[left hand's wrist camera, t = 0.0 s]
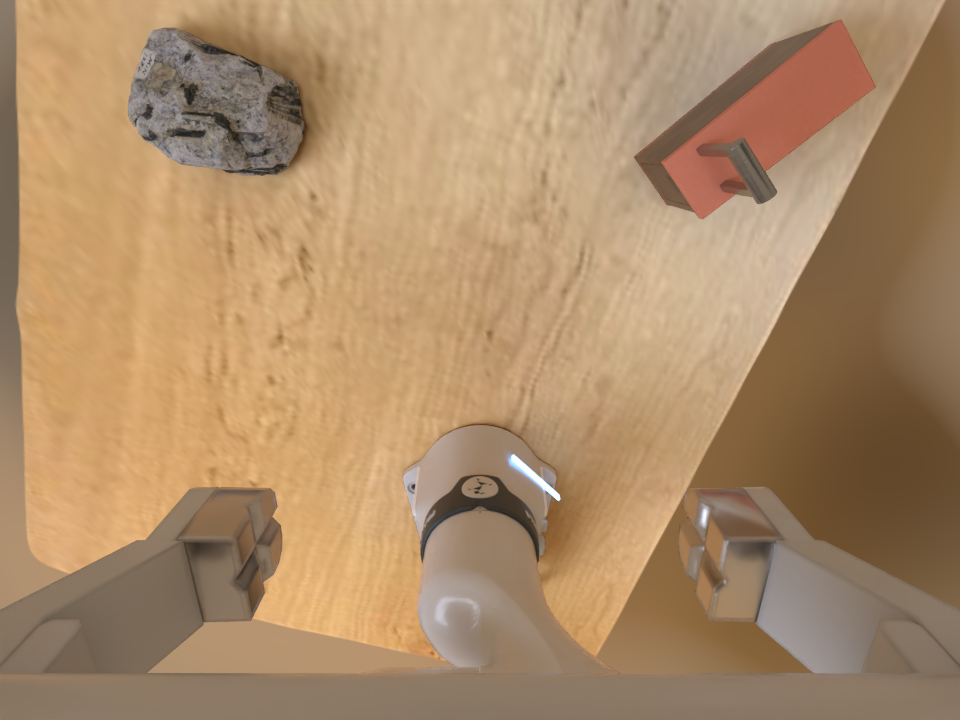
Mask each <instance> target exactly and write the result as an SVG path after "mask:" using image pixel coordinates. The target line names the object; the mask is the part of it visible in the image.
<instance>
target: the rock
mask: <svg viewBox="0 0 960 720" xmlns="http://www.w3.org/2000/svg"><path fill="white" fill-rule="evenodd" d="M128 116H129V119H130V121H131V122H132V124H133V125H134V127H136V128H137V130H138V132H139V134H140V135H141V136H142V138H143V139H144V140H145V141H147V142H149V143H151V144H152V145H154V146H155V147H157V148H158V149H159V150H161V151H162V152H163V153H164V154H165V155H166V156H167V157H169V158H171V159H172V160H174V161H176V162H178V163H180V164H182V165H189V166H196V167H208V168H211V169H222V170H224V171H225V172H228V173H237V174H240V175H262V176H263V175H265V174H271V175H277V174H278V173H280V172H282V171H284V170H285V169H286V168H287V167H288V166H289V165H290V163H291V161H292V159H293V158H294V156H295V154H296V153H297V151H298V147H299V144H300V143H301V141H302V140H303V136H304V130H305V124H304V121H303V119H302V113H301V102H300V100H299V89H298V85H297V84H296V83H295V82H293V81H292V80H289V79H287V78H285V77H283V76H282V75H281V74H279V73H277V72H275V71H273V70H271V69H270V68H267V67H265V66H263V65H262V66H260V65H259V64H257V63H255V62H252V61H250V60H248V59H246V58H244V57H242V56H241V55H239V56H238V55H236V54H233V53H230V52H228V51H225V50H223V49H221V48H219V47H216V46H214V45H212V44H209V43H205V42H203V41H201V40H200V39H198V38H195V37H194V36H192V35H191V34H189V33H186V32H183V31H181V30H179V29H176V28H162V29H157V30H153V31H152V32H151V34H150V36H149V38H148V42H147V44H146V46H145V48H144V49H143V51H142V53H141V61H140V63H139V65H138V67H137V69H136V73H135V76H134V79H133V82H132V85H131V95H130V97H129V102H128Z"/></svg>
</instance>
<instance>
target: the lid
mask: <svg viewBox="0 0 960 720" xmlns="http://www.w3.org/2000/svg"><path fill="white" fill-rule="evenodd" d="M875 87H876V86H875V85H874V83H873V81H872V79H871V77H870V75H869V73H868V71H867V69H866V67H865V65H864V63H863V61H862V59H861V57H860V55H859V53H858V51H857V49H856V47H855V46H854V44H853V42H852V40H851V38H850V36H849V34H848V32H847V30H846V28H845V26H844V24H843V22H842V20H838V21H835V22H833V23H832V24H831V25H829V26H828V27H827V28H826V29H825V30H823V31H822V32H821V33H820V34H818V35H817V36H816V37H815V38H813V39H812V40H811V41H810V42H809V43H807V44H806V45H805V46H804V47H802V48H801V49H800V50H799V51H797V52H796V53H795V54H794V55H792V56H791V57H790V58H789V59H788V60H786V61H785V62H784V63H783V64H781V65H780V66H779V67H778V68H776V69H775V70H774V71H773V72H771V73H770V74H769V75H768V76H767V77H765V78H764V79H763V80H762V81H760V82H759V83H758V84H757V85H755V86H754V87H753V88H752V89H751V90H749V91H748V92H747V93H746V94H744V95H743V96H742V97H741V98H739V99H738V100H737V101H736V102H734V103H733V104H732V105H731V106H730V107H728V108H727V109H726V110H725V111H723V112H722V113H721V114H720V115H718V116H717V117H716V118H715V119H713V120H712V121H711V122H710V123H709V124H707V125H706V126H705V127H704V128H702V129H701V130H700V131H699V132H697V133H696V134H695V135H694V136H692V137H691V138H690V139H689V140H688V141H686V142H685V143H684V144H683V145H681V146H680V147H679V148H678V149H676V150H675V151H674V152H673V153H672V154H670V155H669V156H668V157H667V158H665V159H664V160H663V161H662V162H661V163H662V164H663V166H664V167H665V169H666V170H667V172H668V173H669V175H670V176H671V178H672V179H673V181H674V182H675V183H676V185H677V186H678V188H679V189H680V191H681V192H682V194H683V195H684V197H685V198H686V200H687V201H688V203H689V204H690V206H691V207H692V209H693V210H694V212H695V213H696V215H697V216H698V218H700V219H704V218H705V217H706V216H708V215H709V214H710V213H712V212H713V211H714V210H716V209H717V208H718V207H719V206H721V205H722V204H723V203H725V202H726V201H727V200H729V199H730V198H731V197H733V196H734V195H735V194H737V195H743V196H749V197H753V198H754V200H755V201H756V203H757V204H762V203H764V202H766V201H768V200H770V199H771V198H773V197H774V196H775V195H776V193H777V190H776V189H775V187H774V185H773V184H772V182H771V180H770V179H769V177H768V175H767V174H766V172H765V171H767V170H768V169H769V168H770V167H772V166H773V165H774V164H776V163H777V162H778V161H780V160H781V159H782V158H784V157H785V156H786V155H787V154H789V153H790V152H791V151H793V150H794V149H795V148H797V147H798V146H799V145H801V144H802V143H803V142H804V141H806V140H807V139H808V138H810V137H811V136H812V135H814V134H815V133H816V132H818V131H819V130H820V129H821V128H823V127H824V126H825V125H827V124H828V123H829V122H831V121H832V120H833V119H835V118H836V117H837V116H839V115H840V114H841V113H842V112H844V111H845V110H846V109H848V108H849V107H850V106H852V105H853V104H854V103H856V102H857V101H858V100H859V99H861V98H862V97H863V96H865V95H866V94H867V93H869V92H870V91H871V90H873V89H874V88H875Z"/></svg>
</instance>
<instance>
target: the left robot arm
mask: <svg viewBox="0 0 960 720" xmlns="http://www.w3.org/2000/svg"><path fill="white" fill-rule="evenodd" d="M403 482H404V485H405V489H406V492H407V496H408V499H409V503H410V506H411V509H412V513H413V516H414V520H415V523H416V526H417V530H418V533H419V537H420V540H421V541H420V544H421V559H422V563H423V566H422V573H421V581H420V588H419V595H418V603H417V611H418V618H419V622H420V625H421V628H422V630H423V632H424V634H425V635H426V637H427V639H428V640H429V642H430V643H431V645H432V646H433V647H434V649H435V650H436V651H437V652H438V654H439V655H440V656H441V657H442V658H444V659H445V660H446V661H448V662H449V663H451V664H452V665H454V666H456V667H388V668H383V669H378V670H373V671H368V672H363V673H147V672H148V671H150V670H151V669H152V668H153V667H154V666H155V665H157V664H158V663H159V662H160V661H161V660H162V659H164V658H165V657H166V656H167V655H168V654H170V653H171V652H172V651H173V650H174V649H176V648H177V647H178V646H179V645H180V644H181V643H183V642H184V641H185V640H186V639H187V638H189V637H190V636H191V635H192V634H193V633H194V632H196V631H197V630H198V629H199V628H200V627H202V626H203V622H229V621H251V620H252V618H253V616H254V614H255V612H256V610H257V608H258V606H259V603H260V601H261V599H262V597H263V595H264V593H265V590H264V584H263V582H264V581H265V580H267V579H268V578H270V577H271V576H272V575H274V573H275V570H276V568H277V566H278V564H279V560H280V556H281V551H282V531H281V525H280V524H279V523H278V522H277V521H276V520H275V519H274V518H273V517H272V516H273V514H274V512H275V510H276V509H277V507H278V506H277V501H276V496H275V492H274V491H273V490H272V489H271V488H237V487H221V488H219V487H195V488H192V489H189V490H188V492H187V493H186V494H185V495H184V496H183V497H182V498H181V500H180V501H179V502H178V503H177V504H176V505H175V507H174V508H173V509H172V510H171V511H170V512H169V513H168V515H167V516H166V517H165V518H164V519H163V520H162V522H161V523H160V524H159V525H158V526H157V527H156V529H155V530H154V531H153V532H152V533H151V534H150V535H149V537H148V538H147V539H146V540H137V541H135V542H133V543H131V544H129V545H127V546H125V547H123V548H121V549H119V550H117V551H115V552H113V553H111V554H109V555H107V556H105V557H103V558H101V559H99V560H97V561H95V562H93V563H91V564H89V565H88V566H86V567H84V568H82V569H80V570H78V571H76V572H74V573H72V574H70V575H68V576H66V577H64V578H62V579H60V580H58V581H56V582H54V583H52V584H50V585H48V586H46V587H44V588H42V589H40V590H38V591H36V592H34V593H32V594H30V595H28V596H26V597H24V598H23V599H21V600H19V601H17V602H15V603H13V604H11V605H9V606H7V607H5V608H3V609H1V610H0V720H960V610H959V609H957V608H955V607H953V606H951V605H949V604H947V603H945V602H943V601H941V600H939V599H937V598H935V597H933V596H931V595H929V594H927V593H925V592H923V591H921V590H919V589H917V588H916V587H914V586H912V585H910V584H908V583H906V582H904V581H902V580H900V579H898V578H896V577H894V576H892V575H890V574H888V573H886V572H884V571H882V570H880V569H878V568H876V567H874V566H872V565H870V564H868V563H866V562H864V561H863V560H861V559H859V558H857V557H855V556H853V555H851V554H849V553H847V552H845V551H843V550H841V549H839V548H837V547H835V546H833V545H831V544H829V543H827V542H825V541H823V540H814V539H813V538H812V537H811V536H810V534H809V533H808V532H807V531H806V530H805V529H804V527H803V526H802V525H801V524H800V523H799V522H798V520H797V519H796V518H795V517H794V516H793V515H792V514H791V512H790V511H789V510H788V509H787V508H786V507H785V505H784V504H783V503H782V502H781V501H780V500H779V499H778V497H777V496H776V495H775V494H774V493H773V492H772V490H770V489H768V488H766V487H742V488H714V489H687V491H686V493H685V495H684V501H683V509H684V510H685V512H686V514H687V516H688V517H687V518H686V519H685V520H684V521H683V522H682V523H681V524H680V525H679V532H678V551H679V557H680V560H681V564H682V566H683V568H684V571H685V573H686V575H688V576H689V577H690V578H692V579H693V580H695V581H696V582H697V585H696V590H695V593H696V595H697V597H698V599H699V601H700V603H701V605H702V607H703V609H704V612H705V614H706V616H707V617H708V620H709V621H731V622H757V623H756V625H757V626H759V627H760V628H761V629H762V630H763V631H765V632H766V633H767V634H768V635H769V636H770V637H772V638H773V639H774V640H775V641H776V642H778V643H779V644H780V645H781V646H782V647H783V648H785V649H786V650H787V651H788V652H789V653H791V654H792V655H793V656H794V657H795V658H796V659H798V660H799V661H800V662H801V663H802V664H804V665H805V666H806V667H807V668H808V669H809V670H811V671H812V672H813V673H619V672H617V671H615V670H614V669H612V668H611V667H609V666H607V665H606V664H604V663H602V662H601V661H600V660H598V659H597V658H595V657H594V656H593V655H591V654H590V653H589V652H588V651H587V650H585V649H584V648H583V647H582V646H581V645H580V644H579V643H577V642H576V641H575V640H574V639H573V638H572V637H571V636H570V635H569V633H568V632H567V631H566V630H565V629H564V628H563V627H562V626H561V624H560V623H559V622H558V621H557V619H556V618H555V616H554V615H553V613H552V612H551V610H550V608H549V606H548V604H547V602H546V599H545V596H544V592H543V588H542V584H541V580H540V576H539V570H538V564H537V563H538V559H539V556H543V554H544V551H545V537H543V536H541V533H542V532H546V531H547V526H548V522H547V520H546V516H547V513H548V509H549V506H550V503H551V499H552V496H553V497H555V498H556V499H557V500H558V501H559V500H560V496H559V494H558V493H557V492H556V491H555V490H554V489H555V486H556V482H557V474H556V471H555V470H554V469H553V468H552V467H550V466H549V465H547V464H545V463H544V462H542V461H540V460H539V459H538V458H537V457H536V456H535V455H534V454H533V452H532V451H531V449H530V448H529V447H528V446H527V444H526V443H525V442H524V441H523V440H521V439H520V438H519V437H518V436H516V435H515V434H513V433H511V432H509V431H507V430H504V429H502V428H498V427H494V426H489V425H471V426H466V427H462V428H458V429H456V430H453V431H451V432H449V433H447V434H445V435H444V436H442V437H441V438H440V439H439V440H437V441H436V442H435V443H434V444H433V446H432V447H431V448H430V449H429V451H428V452H427V454H426V455H425V456H424V457H423V458H422V459H421V460H420V461H418V462H416V463H415V464H413V465H411V466H410V467H408V468H407V469H406V470H405V471H404V474H403ZM413 484H415V486H413Z"/></svg>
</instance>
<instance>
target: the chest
mask: <svg viewBox="0 0 960 720" xmlns="http://www.w3.org/2000/svg"><path fill="white" fill-rule="evenodd" d="M831 24H832V23H830V24H827V25H824V26H821V27H819V28H816V29H813V30H810V31H808V32H805V33H802V34H799V35H796V36H794V37H791V38H788V39H785V40H783V41H780V42H777V43H773V44H770V45H769V46H768V47H767V48H766V49H764V50H763V51H762V52H761V53H759V54H758V55H757V56H756V57H755V58H753V59H752V60H751V61H750V62H749V63H747V64H746V65H745V66H744V67H742V68H741V69H740V70H739V71H738V72H736V73H735V74H734V75H733V76H732V77H730V78H729V79H728V80H727V81H726V82H724V83H723V84H722V85H721V86H719V87H718V88H717V89H716V90H715V91H713V92H712V93H711V94H710V95H709V96H707V97H706V98H705V99H704V100H702V101H701V102H700V103H699V104H698V105H696V106H695V107H694V108H693V109H692V110H690V111H689V112H688V113H687V114H685V115H684V116H683V117H682V118H681V119H679V120H678V121H677V122H676V123H675V124H673V125H672V126H671V127H670V128H668V129H667V130H666V131H665V132H664V133H662V134H661V135H660V136H659V137H658V138H656V139H655V140H654V141H653V142H652V143H650V144H649V145H648V146H647V147H645V148H644V149H643V150H642V151H641V152H639V153H638V154H637V155H636V156H635V157H634V158H635V159H636V161H637V162H638V164H639V165H640V167H641V168H642V169H643V171H644V172H645V174H646V175H647V177H648V178H649V180H650V181H651V182H652V184H653V185H654V187H655V188H656V190H657V191H658V193H659V194H660V196H661V197H662V198H663V200H664V201H665V203H666V204H667V205H671V206H675V207H678V208H681V209H685V210H688V211H692V212H694V210H693V209H692V207H691V206H690V204H689V203H688V201H687V200H686V198H685V197H684V195H683V194H682V192H681V191H680V189H679V188H678V186H677V185H676V183H675V182H674V181H673V179H672V178H671V176H670V175H669V173H668V172H667V170H666V169H665V167H664V166H663V164H662V163H661V162H662V161H663V160H664V159H665V158H667V157H668V156H669V155H670V154H672V153H673V152H674V151H675V150H676V149H678V148H679V147H680V146H681V145H683V144H684V143H685V142H686V141H688V140H689V139H690V138H691V137H692V136H694V135H695V134H696V133H697V132H699V131H700V130H701V129H702V128H704V127H705V126H706V125H707V124H709V123H710V122H711V121H712V120H713V119H715V118H716V117H717V116H718V115H720V114H721V113H722V112H723V111H725V110H726V109H727V108H728V107H730V106H731V105H732V104H733V103H734V102H736V101H737V100H738V99H739V98H741V97H742V96H743V95H744V94H746V93H747V92H748V91H749V90H751V89H752V88H753V87H754V86H755V85H757V84H758V83H759V82H760V81H762V80H763V79H764V78H765V77H767V76H768V75H769V74H770V73H771V72H773V71H774V70H775V69H776V68H778V67H779V66H780V65H781V64H783V63H784V62H785V61H786V60H788V59H789V58H790V57H791V56H792V55H794V54H795V53H796V52H797V51H799V50H800V49H801V48H802V47H804V46H805V45H806V44H807V43H809V42H810V41H811V40H812V39H813V38H815V37H816V36H817V35H818V34H820V33H821V32H822V31H823V30H825V29H826V28H827V27H828V26H829V25H831Z"/></svg>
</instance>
